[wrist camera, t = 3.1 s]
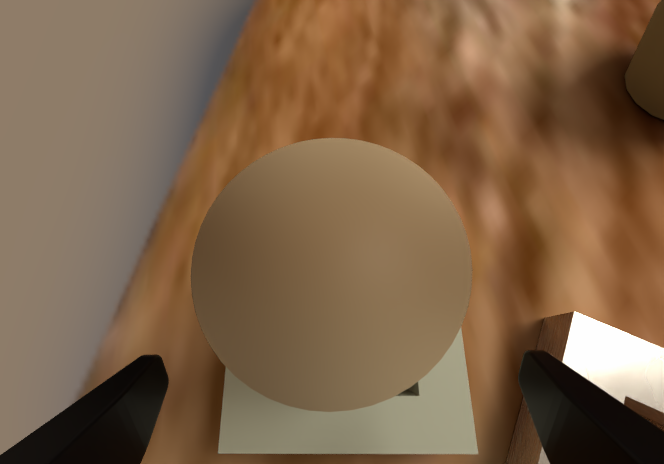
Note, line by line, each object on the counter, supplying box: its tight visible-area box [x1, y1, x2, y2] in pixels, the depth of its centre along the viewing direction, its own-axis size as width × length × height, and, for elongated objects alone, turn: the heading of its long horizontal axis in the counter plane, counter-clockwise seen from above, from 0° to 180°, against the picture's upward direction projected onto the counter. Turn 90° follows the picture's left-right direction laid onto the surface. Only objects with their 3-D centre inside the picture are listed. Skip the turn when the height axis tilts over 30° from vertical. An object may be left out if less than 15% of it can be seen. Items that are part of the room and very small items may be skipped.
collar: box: [218, 328, 478, 454], centre depth 16 cm, size 10×10×3 cm
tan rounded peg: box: [191, 138, 472, 412], centre depth 12 cm, size 4×4×13 cm
